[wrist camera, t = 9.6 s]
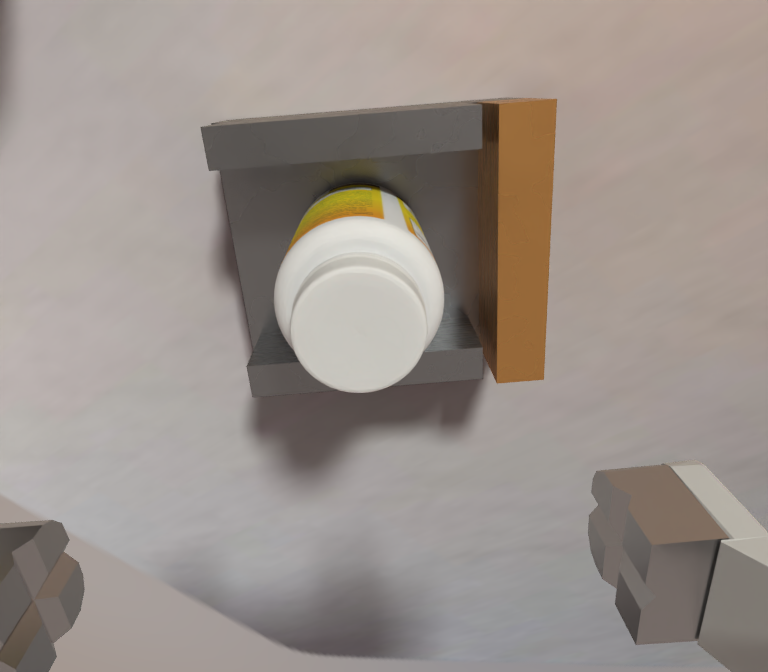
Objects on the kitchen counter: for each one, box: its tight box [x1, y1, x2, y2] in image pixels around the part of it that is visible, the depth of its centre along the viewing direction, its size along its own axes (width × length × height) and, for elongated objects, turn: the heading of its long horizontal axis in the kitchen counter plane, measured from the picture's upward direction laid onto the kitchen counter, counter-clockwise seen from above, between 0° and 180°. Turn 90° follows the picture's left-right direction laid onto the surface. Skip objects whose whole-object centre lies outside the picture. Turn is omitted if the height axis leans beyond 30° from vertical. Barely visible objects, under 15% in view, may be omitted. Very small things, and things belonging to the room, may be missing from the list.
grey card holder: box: [201, 98, 557, 397], centre depth 25 cm, size 13×11×7 cm
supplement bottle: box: [274, 183, 444, 393], centre depth 20 cm, size 6×6×10 cm
